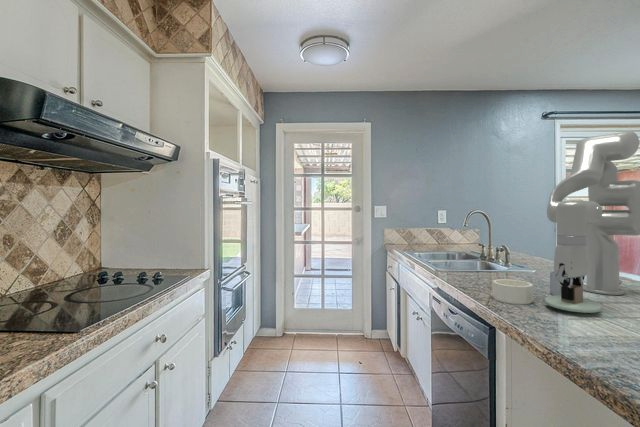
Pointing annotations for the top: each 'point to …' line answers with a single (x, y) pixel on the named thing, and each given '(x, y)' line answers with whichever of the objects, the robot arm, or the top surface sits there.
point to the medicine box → (555, 284)
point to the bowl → (513, 291)
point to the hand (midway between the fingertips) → (571, 297)
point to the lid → (574, 302)
